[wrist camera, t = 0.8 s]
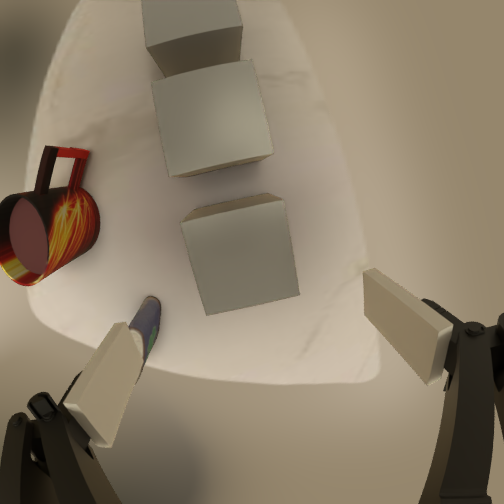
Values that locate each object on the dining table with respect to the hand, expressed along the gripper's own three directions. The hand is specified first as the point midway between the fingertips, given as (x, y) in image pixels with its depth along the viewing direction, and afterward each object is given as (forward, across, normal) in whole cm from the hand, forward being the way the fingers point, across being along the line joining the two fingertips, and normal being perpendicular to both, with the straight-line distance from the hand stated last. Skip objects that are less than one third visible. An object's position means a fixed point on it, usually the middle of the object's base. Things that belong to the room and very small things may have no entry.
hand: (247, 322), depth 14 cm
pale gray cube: (+21, 0, +13) cm, 24 cm away
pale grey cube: (+21, 0, +26) cm, 33 cm away
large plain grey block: (+21, 0, 0) cm, 21 cm away
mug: (+21, -21, +10) cm, 31 cm away
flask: (+21, -15, -9) cm, 27 cm away
